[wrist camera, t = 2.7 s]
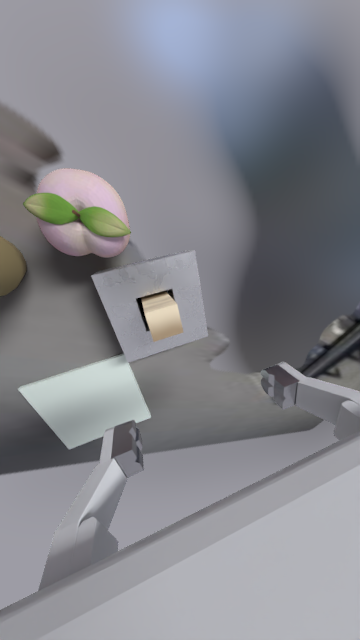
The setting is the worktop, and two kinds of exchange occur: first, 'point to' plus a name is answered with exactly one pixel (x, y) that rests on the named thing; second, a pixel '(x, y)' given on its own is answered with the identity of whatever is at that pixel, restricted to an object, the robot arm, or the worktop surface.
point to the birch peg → (162, 315)
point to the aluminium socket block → (146, 279)
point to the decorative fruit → (80, 213)
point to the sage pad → (88, 400)
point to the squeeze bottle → (10, 267)
